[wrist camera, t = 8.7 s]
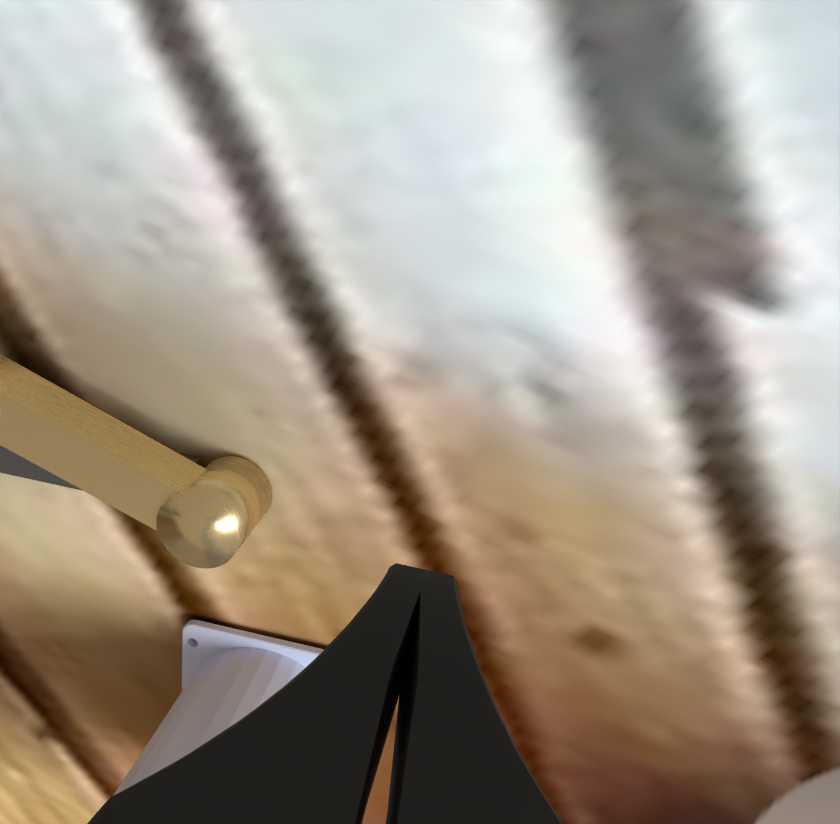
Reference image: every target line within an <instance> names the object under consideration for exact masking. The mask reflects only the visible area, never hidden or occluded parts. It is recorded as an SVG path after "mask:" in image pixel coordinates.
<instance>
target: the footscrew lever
mask: <svg viewBox="0 0 840 824" xmlns="http://www.w3.org/2000/svg"><path fill="white" fill-rule="evenodd" d="M0 445H1V446H3V447H5V448H7V449H8V450H10V451H12V452H14V453H16V454H18V455H19V456H21V457H23V458H25V459H27V460H29V461H30V462H32V463H34V464H36V465H38V466H39V467H41V468H43V469H45V470H47V471H49V472H50V473H52V474H54V475H56V476H58V477H60V478H61V479H63V480H65V481H67V482H69V483H71V484H72V485H74V486H76V487H78V488H80V489H82V490H83V491H85V492H87V493H89V494H91V495H92V496H94V497H96V498H98V499H100V500H102V501H103V502H105V503H107V504H109V505H111V506H113V507H114V508H116V509H118V510H120V511H122V512H124V513H125V514H127V515H129V516H131V517H133V518H135V519H136V520H138V521H140V522H142V523H144V524H146V525H147V526H149V527H151V528H153V529H155V530H156V531H158V535H159V537H160V540H161V541H162V543H163V545H164V546H165V548H166V549H167V550H168V551H169V552H170V553H171V554H172V555H173V556H174V557H176V558H177V559H178V560H180V561H182V562H184V563H186V564H188V565H191V566H194V567H198V568H214V567H218V566H221V565H223V564H225V563H226V562H228V561H229V560H230V559H231V558H232V557H233V555H234V554H235V553H236V552H237V550H238V549H239V548H240V546H241V545H242V544H243V542H244V541H245V540H246V539H247V537H248V536H249V535H250V533H251V532H252V531H253V529H254V528H255V527H256V526H257V524H258V523H259V522H260V520H261V519H262V518H263V516H264V515H265V514H266V513H267V511H268V509H269V508H270V505H271V502H272V489H271V486H270V483H269V481H268V479H267V477H266V475H265V474H264V473H263V472H262V471H261V470H260V469H259V468H258V467H257V466H256V465H255V464H253V463H252V462H250V461H248V460H246V459H243V458H240V457H234V456H226V457H221V458H218V459H215V460H214V461H212V462H211V463H209V464H208V465H207V466H206V467H205V468H203V467H202V466H200V465H198V464H196V463H194V462H193V461H191V460H189V459H187V458H186V457H184V456H182V455H180V454H178V453H177V452H175V451H173V450H171V449H169V448H168V447H166V446H164V445H162V444H160V443H159V442H157V441H155V440H153V439H152V438H150V437H148V436H146V435H144V434H143V433H141V432H139V431H137V430H135V429H134V428H132V427H130V426H128V425H126V424H125V423H123V422H121V421H119V420H117V419H116V418H114V417H112V416H110V415H109V414H107V413H105V412H103V411H101V410H100V409H98V408H96V407H94V406H92V405H91V404H89V403H87V402H85V401H83V400H82V399H80V398H78V397H76V396H75V395H73V394H71V393H69V392H67V391H66V390H64V389H62V388H60V387H58V386H57V385H55V384H53V383H51V382H49V381H48V380H46V379H44V378H42V377H41V376H39V375H37V374H35V373H33V372H32V371H30V370H28V369H26V368H24V367H23V366H21V365H19V364H17V363H15V362H14V361H12V360H10V359H8V358H7V357H5V356H3V355H1V354H0Z"/></svg>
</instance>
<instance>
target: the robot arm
mask: <svg viewBox="0 0 840 824" xmlns="http://www.w3.org/2000/svg"><path fill="white" fill-rule="evenodd" d="M194 639H195V640H194ZM399 694H400V695H399ZM398 697H399V704H398V714H397V724H396V734H395V744H394V754H393V763H392V773H391V783H390V793H389V803H388V812H387V819H386V824H562V823H561V821H560V819H559V818H558V816H557V815H556V813H555V811H554V810H553V808H552V807H551V805H550V803H549V802H548V800H547V799H546V797H545V795H544V794H543V792H542V791H541V789H540V787H539V786H538V784H537V783H536V781H535V779H534V778H533V776H532V775H531V773H530V771H529V769H528V768H527V766H526V764H525V762H524V760H523V758H522V757H521V755H520V753H519V751H518V749H517V747H516V746H515V744H514V742H513V740H512V738H511V736H510V734H509V732H508V730H507V728H506V726H505V724H504V722H503V720H502V718H501V716H500V713H499V711H498V709H497V707H496V705H495V702H494V700H493V698H492V696H491V693H490V691H489V688H488V686H487V683H486V681H485V679H484V676H483V674H482V671H481V668H480V666H479V663H478V660H477V657H476V654H475V651H474V648H473V645H472V642H471V639H470V636H469V633H468V630H467V626H466V623H465V619H464V615H463V611H462V607H461V603H460V598H459V592H458V583H457V581H456V579H455V578H454V576H451V575H447V574H442V573H438V572H433V571H428V570H424V569H419V568H415V567H410V566H406V565H401V564H397V563H396V564H394V565H392V566H391V567H390V568H389V570H388V572H387V574H386V575H385V577H384V579H383V580H382V582H381V583H380V585H379V586H378V588H377V589H376V591H375V592H374V593H373V595H372V596H371V597H370V599H369V600H368V601H367V603H366V604H365V605H364V606H363V607H362V609H361V610H360V611H359V612H358V613H357V615H356V616H355V617H354V618H353V619H352V621H351V622H350V623H349V624H348V625H347V626H346V627H345V629H344V630H343V631H342V632H341V633H340V634H339V635H338V636H337V637H336V638H335V639H334V640H333V641H332V642H331V643H330V644H329V645H328V646H327V647H326V648H325V649H320V648H316V647H312V646H307V645H303V644H299V643H294V642H290V641H286V640H281V639H277V638H273V637H269V636H264V635H260V634H256V633H251V632H247V631H243V630H238V629H234V628H230V627H225V626H221V625H217V624H212V623H208V622H204V621H199V620H190V621H188V622H187V623H186V625H185V626H184V627H183V631H182V692H181V694H180V695H179V697H178V698H177V700H176V701H175V703H174V704H173V706H172V707H171V709H170V710H169V712H168V713H167V715H166V716H165V718H164V719H163V721H162V722H161V724H160V725H159V727H158V729H157V730H156V732H155V733H154V735H153V736H152V738H151V739H150V741H149V742H148V744H147V745H146V747H145V748H144V750H143V751H142V753H141V754H140V756H139V757H138V759H137V760H136V762H135V764H134V765H133V767H132V768H131V770H130V771H129V773H128V774H127V776H126V777H125V779H124V780H123V782H122V783H121V785H120V786H119V788H118V789H117V791H116V792H115V794H114V795H113V796H112V797H110V798H109V800H108V801H107V802H106V803H105V804H104V805H103V806H102V807H101V808H100V810H99V811H98V812H97V813H96V814H95V815H94V817H93V818H92V819H91V820H90V821H89V822H88V824H362V821H363V817H364V813H365V809H366V805H367V802H368V798H369V795H370V792H371V788H372V785H373V781H374V778H375V775H376V771H377V768H378V765H379V761H380V758H381V755H382V751H383V748H384V744H385V741H386V738H387V734H388V731H389V728H390V724H391V721H392V717H393V714H394V711H395V707H396V704H397V701H398Z"/></svg>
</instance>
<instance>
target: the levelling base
mask: <svg viewBox="0 0 840 824" xmlns="http://www.w3.org/2000/svg"><path fill="white" fill-rule="evenodd" d="M178 454H180V453H178ZM180 455H182V456H184V457H186V458H187V459H189V460H191V461H193V462H194V463H196V464H198V465H200V466H201V458H199V457H194V456H189V455H185V454H180ZM0 472H1V473H5V474H10V475H14V476H19V477H24V478H28V479H33V480H37V481H42V482H46V483H51V484H56V485H60V486H65V487H69V488H74V489H78V490H82V489H80V488H78V487H76V486H74V485H72V484H71V483H69V482H67V481H65V480H63V479H61V478H60V477H58V476H56V475H54V474H52V473H50V472H49V471H47V470H45V469H43V468H41V467H39V466H38V465H36V464H34V463H32V462H30V461H29V460H27V459H25V458H23V457H21V456H19V455H18V454H16V453H14V452H12V451H10V450H8V449H7V448H5V447H3V446H1V445H0Z"/></svg>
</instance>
